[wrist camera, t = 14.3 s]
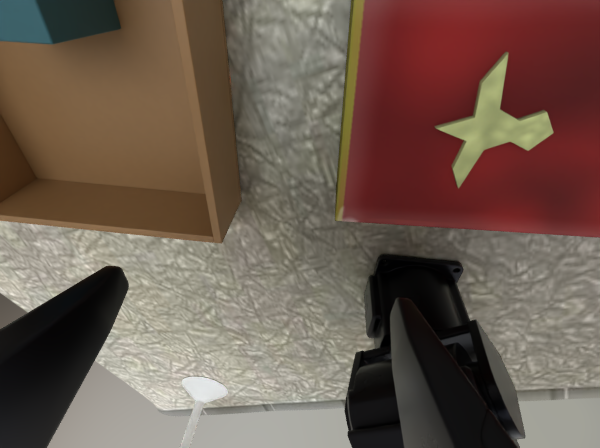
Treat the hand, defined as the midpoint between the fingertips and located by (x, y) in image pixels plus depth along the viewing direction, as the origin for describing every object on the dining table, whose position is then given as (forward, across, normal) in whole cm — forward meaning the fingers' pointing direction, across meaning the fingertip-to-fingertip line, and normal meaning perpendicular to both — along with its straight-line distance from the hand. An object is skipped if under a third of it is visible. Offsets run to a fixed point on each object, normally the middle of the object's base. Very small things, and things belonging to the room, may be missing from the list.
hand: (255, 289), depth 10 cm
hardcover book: (+12, -13, -3) cm, 18 cm away
